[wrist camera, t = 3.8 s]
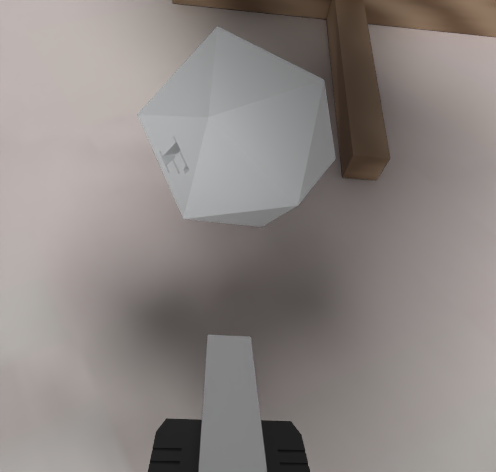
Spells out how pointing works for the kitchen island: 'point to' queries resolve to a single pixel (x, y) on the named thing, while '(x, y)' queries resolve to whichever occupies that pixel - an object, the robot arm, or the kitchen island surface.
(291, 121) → the die
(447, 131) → the kitchen island surface
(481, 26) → the walnut T rail
